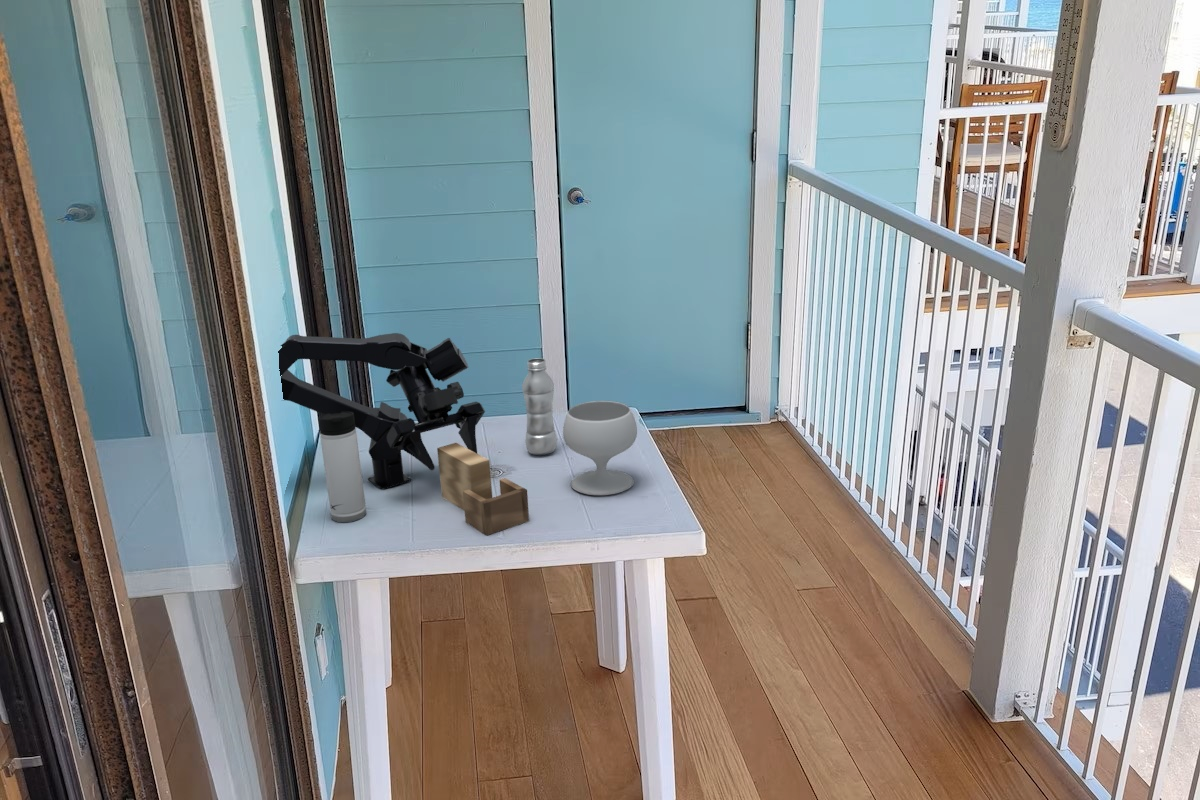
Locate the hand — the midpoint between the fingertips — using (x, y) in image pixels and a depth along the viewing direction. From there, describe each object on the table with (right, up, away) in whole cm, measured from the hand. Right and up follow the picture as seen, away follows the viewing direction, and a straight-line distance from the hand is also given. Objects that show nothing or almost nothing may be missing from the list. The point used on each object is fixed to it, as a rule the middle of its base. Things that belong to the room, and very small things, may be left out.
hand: (454, 462), depth 186 cm
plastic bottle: (+15, 0, +23) cm, 27 cm away
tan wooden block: (+2, -8, -1) cm, 8 cm away
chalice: (+27, -5, +5) cm, 28 cm away
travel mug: (-19, -10, -4) cm, 21 cm away
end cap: (+9, -10, -9) cm, 16 cm away
